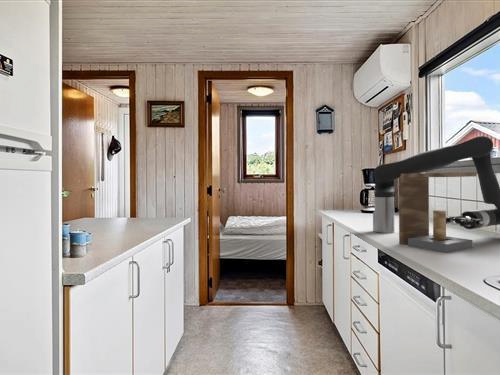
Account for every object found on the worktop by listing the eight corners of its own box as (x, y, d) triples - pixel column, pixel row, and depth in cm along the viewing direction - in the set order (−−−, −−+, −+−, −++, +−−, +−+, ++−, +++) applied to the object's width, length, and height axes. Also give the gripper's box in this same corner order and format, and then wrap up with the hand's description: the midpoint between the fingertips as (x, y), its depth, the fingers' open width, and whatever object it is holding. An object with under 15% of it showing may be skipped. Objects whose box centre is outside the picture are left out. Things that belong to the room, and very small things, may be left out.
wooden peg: (430, 246, 147) (430, 210, 146) (437, 245, 149) (437, 210, 148) (441, 248, 143) (441, 211, 143) (448, 247, 145) (448, 210, 145)
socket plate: (408, 245, 149) (408, 238, 149) (433, 241, 157) (433, 234, 157) (446, 252, 135) (446, 244, 135) (472, 247, 143) (472, 240, 143)
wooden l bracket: (399, 243, 154) (398, 173, 153) (424, 240, 162) (424, 173, 161) (450, 252, 135) (450, 172, 134) (476, 248, 142) (476, 172, 142)
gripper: (458, 209, 163) (433, 211, 155) (492, 211, 150) (468, 214, 142) (458, 226, 163) (434, 229, 155) (492, 230, 150) (468, 234, 143)
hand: (450, 222), depth 149 cm, fingers open, 8 cm apart
